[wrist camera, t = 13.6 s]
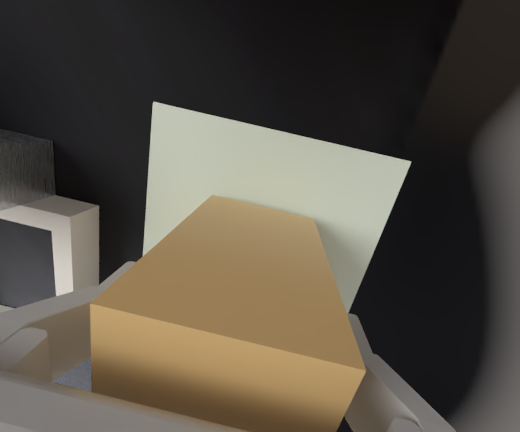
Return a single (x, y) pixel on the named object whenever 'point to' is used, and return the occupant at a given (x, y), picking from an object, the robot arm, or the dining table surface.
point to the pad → (271, 183)
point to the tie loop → (48, 210)
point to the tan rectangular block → (230, 324)
